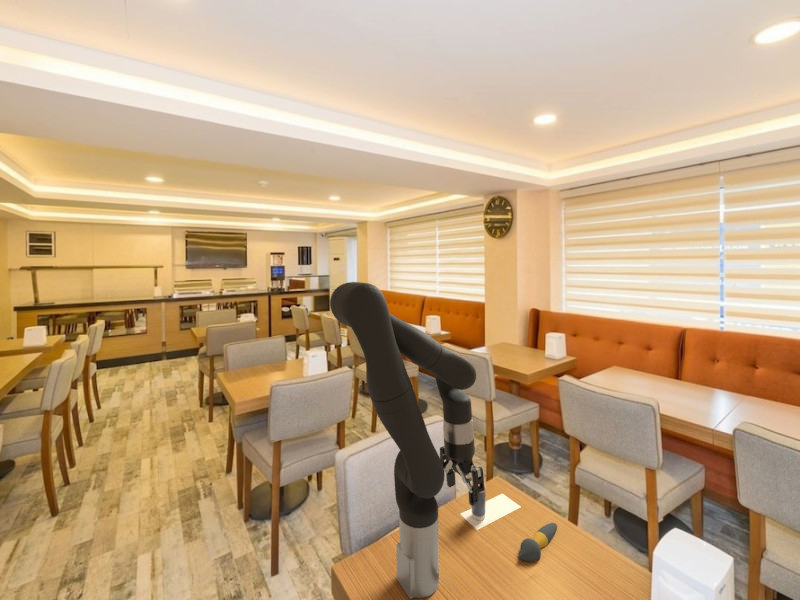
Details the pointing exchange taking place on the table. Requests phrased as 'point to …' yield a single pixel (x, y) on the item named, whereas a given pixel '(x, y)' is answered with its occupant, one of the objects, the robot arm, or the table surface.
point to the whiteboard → (492, 511)
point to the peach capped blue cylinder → (479, 506)
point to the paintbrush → (537, 543)
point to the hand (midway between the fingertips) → (462, 494)
